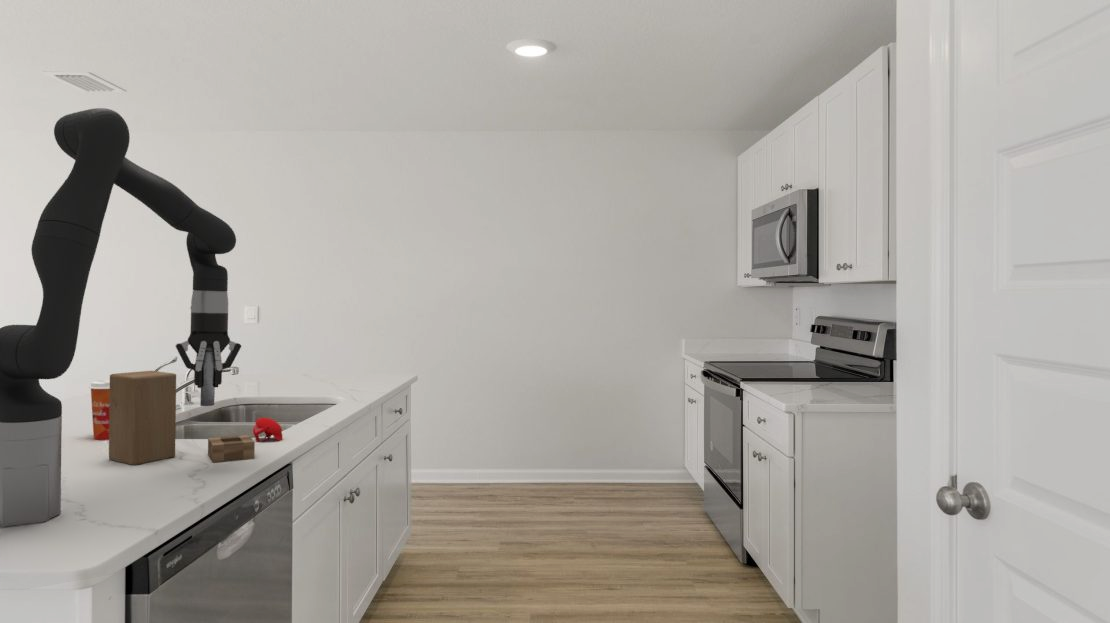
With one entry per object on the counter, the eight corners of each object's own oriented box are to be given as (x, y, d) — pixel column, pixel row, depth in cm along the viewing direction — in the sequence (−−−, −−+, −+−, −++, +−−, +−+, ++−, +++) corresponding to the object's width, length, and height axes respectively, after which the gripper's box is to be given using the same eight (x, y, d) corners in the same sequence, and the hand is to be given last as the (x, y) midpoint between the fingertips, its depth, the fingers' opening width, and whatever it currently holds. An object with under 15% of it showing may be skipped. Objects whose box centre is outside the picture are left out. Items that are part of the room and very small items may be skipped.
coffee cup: (80, 439, 175) (81, 382, 175) (110, 433, 183) (110, 378, 182) (105, 442, 172) (105, 384, 172) (133, 436, 180) (134, 380, 180)
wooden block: (107, 459, 155) (108, 373, 155) (150, 451, 164) (151, 370, 164) (133, 465, 150) (134, 377, 150) (176, 457, 159) (177, 373, 159)
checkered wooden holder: (254, 458, 160) (254, 441, 160) (212, 462, 155) (212, 445, 155) (248, 450, 168) (248, 434, 167) (207, 454, 163) (208, 438, 162)
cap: (244, 430, 176) (262, 419, 175) (254, 419, 182) (271, 408, 181) (264, 452, 179) (282, 442, 178) (273, 440, 184) (290, 430, 183)
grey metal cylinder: (215, 405, 151) (216, 343, 151) (200, 406, 150) (202, 343, 150) (213, 403, 154) (215, 343, 154) (199, 404, 152) (201, 343, 152)
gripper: (175, 310, 145) (173, 390, 145) (245, 312, 152) (244, 387, 152) (173, 310, 151) (171, 386, 151) (240, 311, 159) (239, 384, 159)
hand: (207, 386), depth 152 cm, fingers closed on grey metal cylinder, 2 cm apart
